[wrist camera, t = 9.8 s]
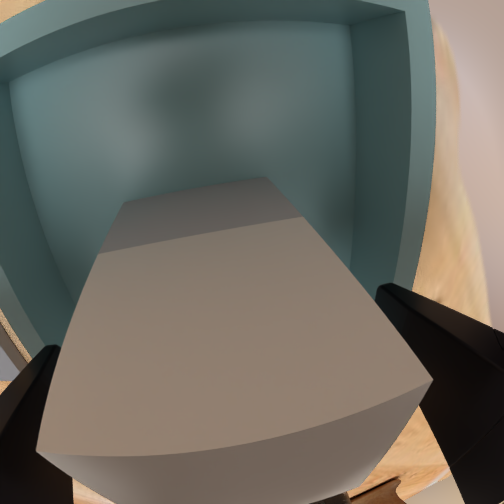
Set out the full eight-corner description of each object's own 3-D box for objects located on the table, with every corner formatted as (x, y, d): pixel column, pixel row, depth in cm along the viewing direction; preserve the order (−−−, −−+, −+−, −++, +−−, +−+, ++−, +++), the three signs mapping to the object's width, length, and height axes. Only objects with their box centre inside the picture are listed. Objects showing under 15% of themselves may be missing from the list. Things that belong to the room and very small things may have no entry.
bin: (346, 352, 17) (374, 402, 14) (119, 395, 16) (116, 452, 12) (359, 9, 8) (426, -10, 5) (-3, 69, 7) (-67, 71, 3)
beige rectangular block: (266, 176, 10) (432, 379, 3) (275, 292, 13) (359, 486, 6) (123, 202, 10) (36, 451, 2) (158, 314, 12) (162, 525, 5)
